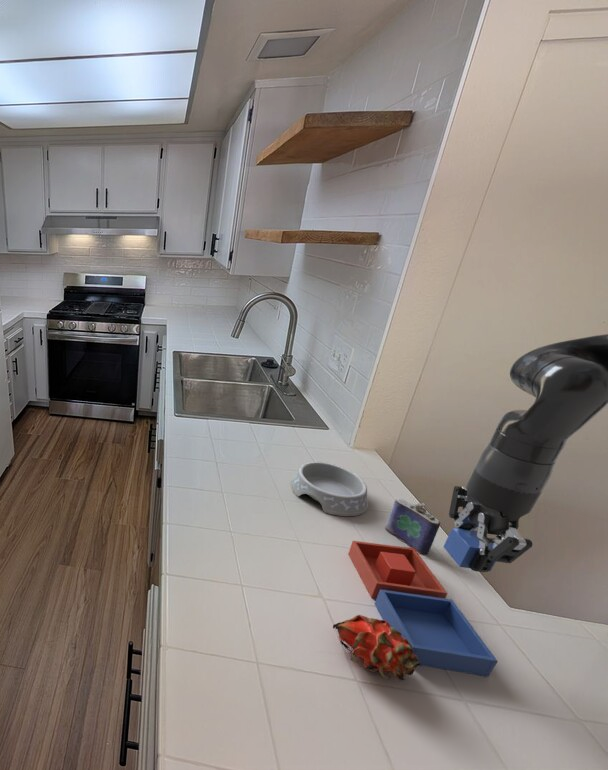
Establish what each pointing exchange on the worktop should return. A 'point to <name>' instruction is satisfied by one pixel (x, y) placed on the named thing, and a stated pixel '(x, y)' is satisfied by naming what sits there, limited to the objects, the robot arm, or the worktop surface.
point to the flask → (413, 525)
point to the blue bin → (436, 632)
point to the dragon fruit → (378, 646)
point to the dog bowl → (332, 488)
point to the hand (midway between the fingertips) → (466, 557)
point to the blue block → (463, 546)
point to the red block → (394, 568)
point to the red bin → (421, 584)
